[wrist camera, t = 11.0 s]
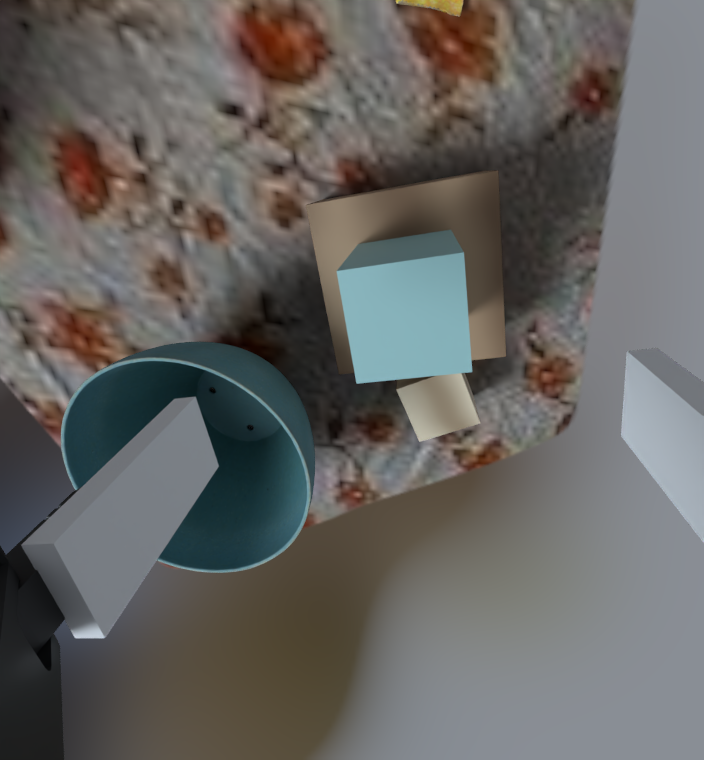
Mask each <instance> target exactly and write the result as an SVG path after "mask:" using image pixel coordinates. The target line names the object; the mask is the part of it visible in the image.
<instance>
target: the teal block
mask: <svg viewBox="0 0 704 760" xmlns="http://www.w3.org/2000/svg"><path fill="white" fill-rule="evenodd" d="M337 277H338V282H339V288H340V294H341V299H342V305H343V310H344V316H345V322H346V327H347V333H348V338H349V344H350V350H351V355H352V361H353V366H354V372H355V378H356V383H357V384H358V383H368V382H378V381H388V380H398V379H409V378H419V377H429V376H439V375H449V374H459V373H469V372H472V361H471V347H470V332H469V318H468V304H467V289H466V275H465V261H464V252H463V250H462V248H461V246H460V245H459V243H458V241H457V239H456V238H455V236H454V234H453V232H452V231H451V230H445V231H439V232H432V233H426V234H419V235H413V236H407V237H400V238H394V239H387V240H381V241H375V242H368V243H362V244H358V245H357V246H356V247H355V249H354V250H353V251H352V252H351V254H350V255H349V256H348V257H347V259H346V260H345V261H344V262H343V264H342V265H341V266H340V267H339V269H338V270H337Z"/></svg>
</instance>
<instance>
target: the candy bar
mask: <svg viewBox="0 0 704 760" xmlns="http://www.w3.org/2000/svg"><path fill="white" fill-rule="evenodd" d="M463 1H464V0H396V3H397V4H402V5H409V6H417V7H424V8H432V9H435V10H438V11H442V12H447V13H448V14H450V15H453V16H461V11H462V6H463Z"/></svg>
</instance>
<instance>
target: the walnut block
mask: <svg viewBox="0 0 704 760" xmlns="http://www.w3.org/2000/svg"><path fill="white" fill-rule="evenodd" d="M306 210H307V215H308V220H309V225H310V230H311V235H312V240H313V245H314V250H315V255H316V261H317V266H318V271H319V276H320V281H321V286H322V291H323V296H324V301H325V306H326V312H327V317H328V322H329V327H330V332H331V337H332V342H333V347H334V352H335V357H336V363H337V368H338V373H339V375H340V374H349V373H355V372H354V366H353V361H352V355H351V350H350V344H349V338H348V333H347V327H346V322H345V316H344V310H343V305H342V299H341V294H340V288H339V282H338V277H337V270H338V269H339V267H340V266H341V265H342V264H343V262H344V261H345V260H346V259H347V257H348V256H349V255H350V254H351V252H352V251H353V250H354V249H355V247H356V246H357V245H358V244H362V243H368V242H375V241H381V240H387V239H394V238H400V237H407V236H413V235H419V234H426V233H432V232H439V231H445V230H451V231H452V232H453V234H454V236H455V238H456V239H457V241H458V243H459V245H460V246H461V248H462V250H463V252H464V261H465V275H466V289H467V304H468V318H469V332H470V347H471V360H480V359H490V358H499V357H506V342H505V318H504V294H503V269H502V245H501V221H500V197H499V172H498V171H480V172H474V173H469V174H463V175H458V176H452V177H446V178H441V179H435V180H430V181H424V182H419V183H413V184H408V185H402V186H396V187H391V188H385V189H380V190H374V191H369V192H363V193H358V194H352V195H346V196H341V197H335V198H330V199H324V200H320V201H317V202H314V203H311V204H308V205H306Z"/></svg>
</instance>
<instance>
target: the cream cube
mask: <svg viewBox="0 0 704 760" xmlns="http://www.w3.org/2000/svg"><path fill="white" fill-rule="evenodd" d="M396 390H397V392H398V395H399V397H400V399H401V401H402V404H403V406H404V408H405V410H406V413H407V415H408V417H409V419H410V422H411V424H412V426H413V428H414V431H415V433H416V435H417V437H418V440H419V442H421V441H424V440H428V439H431V438H434V437H437V436H441V435H444V434H447V433H450V432H454V431H457V430H460V429H463V428H467V427H470V426H473V425H477V424H480V420H479V416H478V412H477V408H476V404H475V400H474V396H473V393H472V391H471V388H470V385H469V383H468V380H467V378H466V375H465V373H459V374H449V375H439V376H429V377H419V378H409V379H398V380H397V387H396Z"/></svg>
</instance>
